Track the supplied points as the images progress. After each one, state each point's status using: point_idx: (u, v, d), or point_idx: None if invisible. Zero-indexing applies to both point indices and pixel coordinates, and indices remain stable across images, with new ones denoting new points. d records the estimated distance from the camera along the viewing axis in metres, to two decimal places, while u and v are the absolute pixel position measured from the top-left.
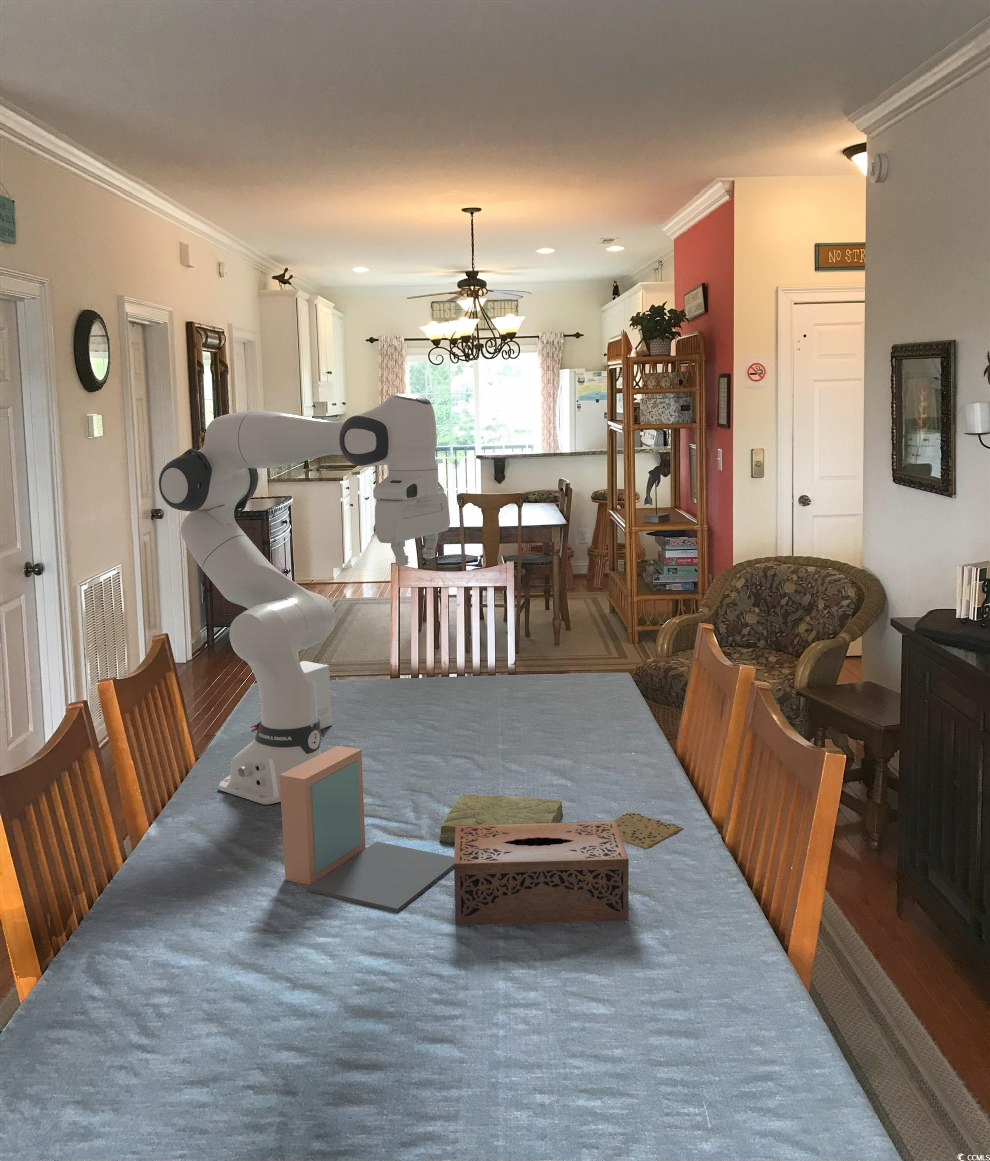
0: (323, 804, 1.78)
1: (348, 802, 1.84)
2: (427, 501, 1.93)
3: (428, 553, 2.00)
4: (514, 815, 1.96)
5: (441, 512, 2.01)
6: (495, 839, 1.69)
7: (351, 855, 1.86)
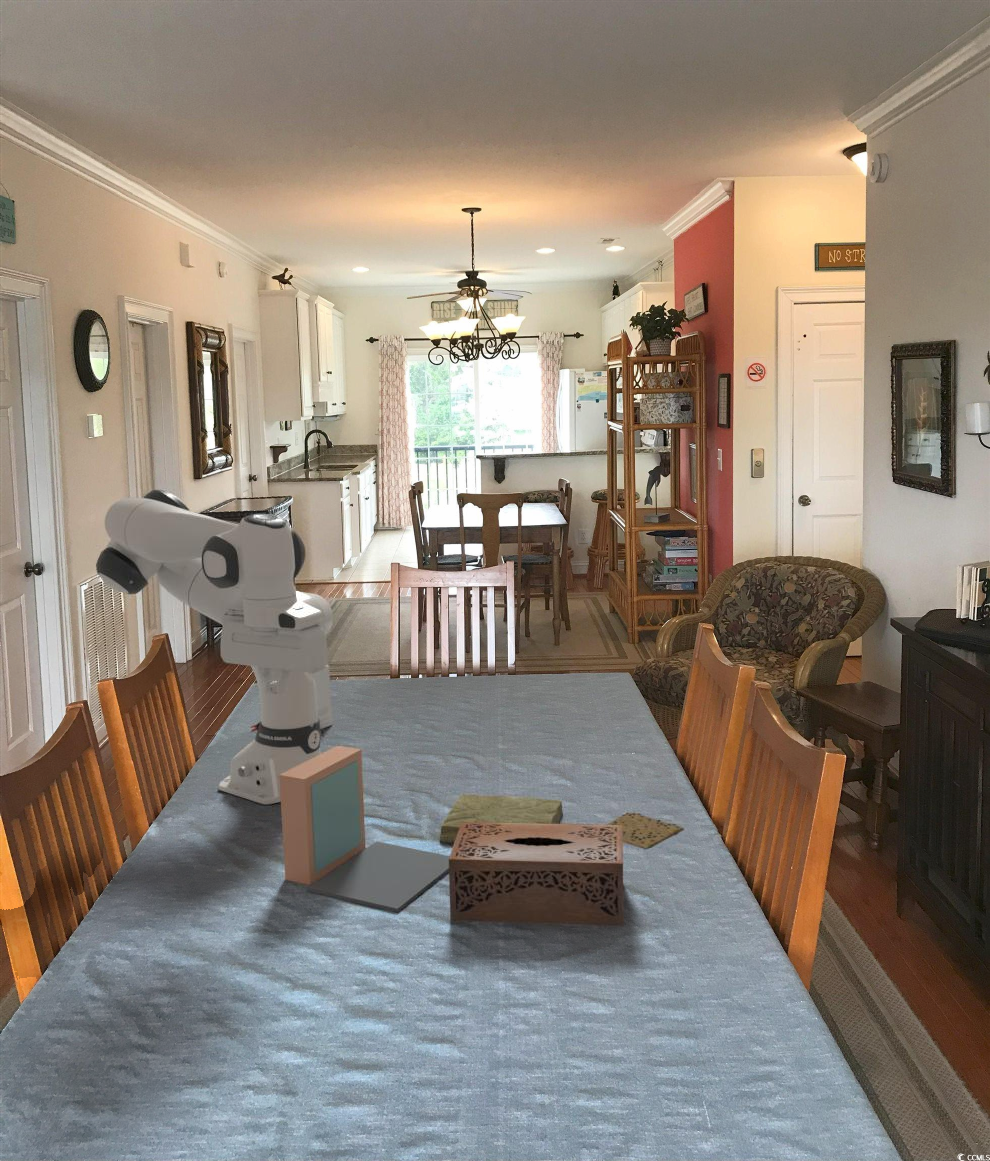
0: (323, 804, 1.78)
1: (348, 802, 1.84)
2: None
3: None
4: (514, 815, 1.96)
5: None
6: (496, 837, 1.69)
7: (351, 855, 1.86)
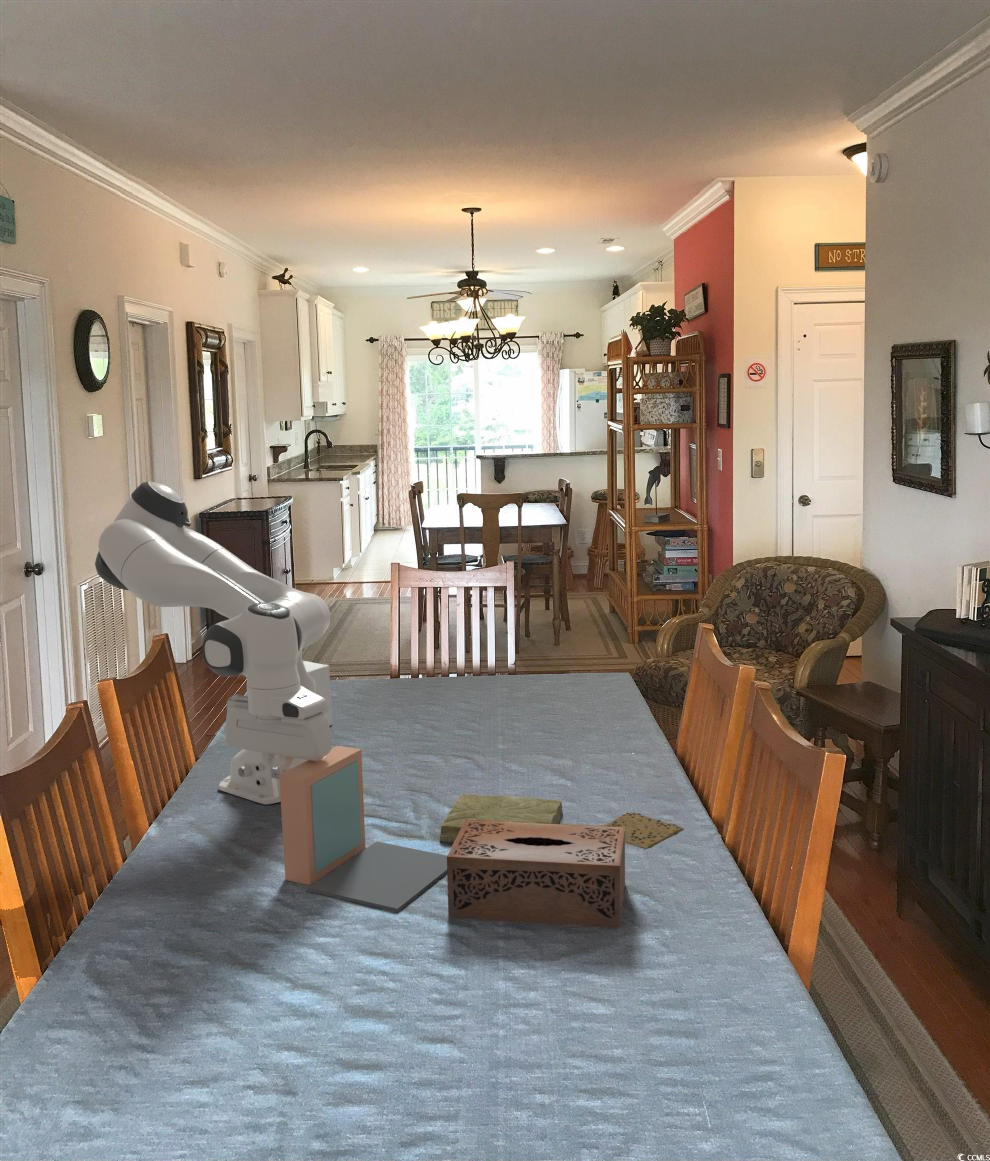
0: (323, 804, 1.78)
1: (348, 802, 1.84)
2: None
3: None
4: (514, 815, 1.96)
5: None
6: (497, 835, 1.70)
7: (351, 855, 1.86)
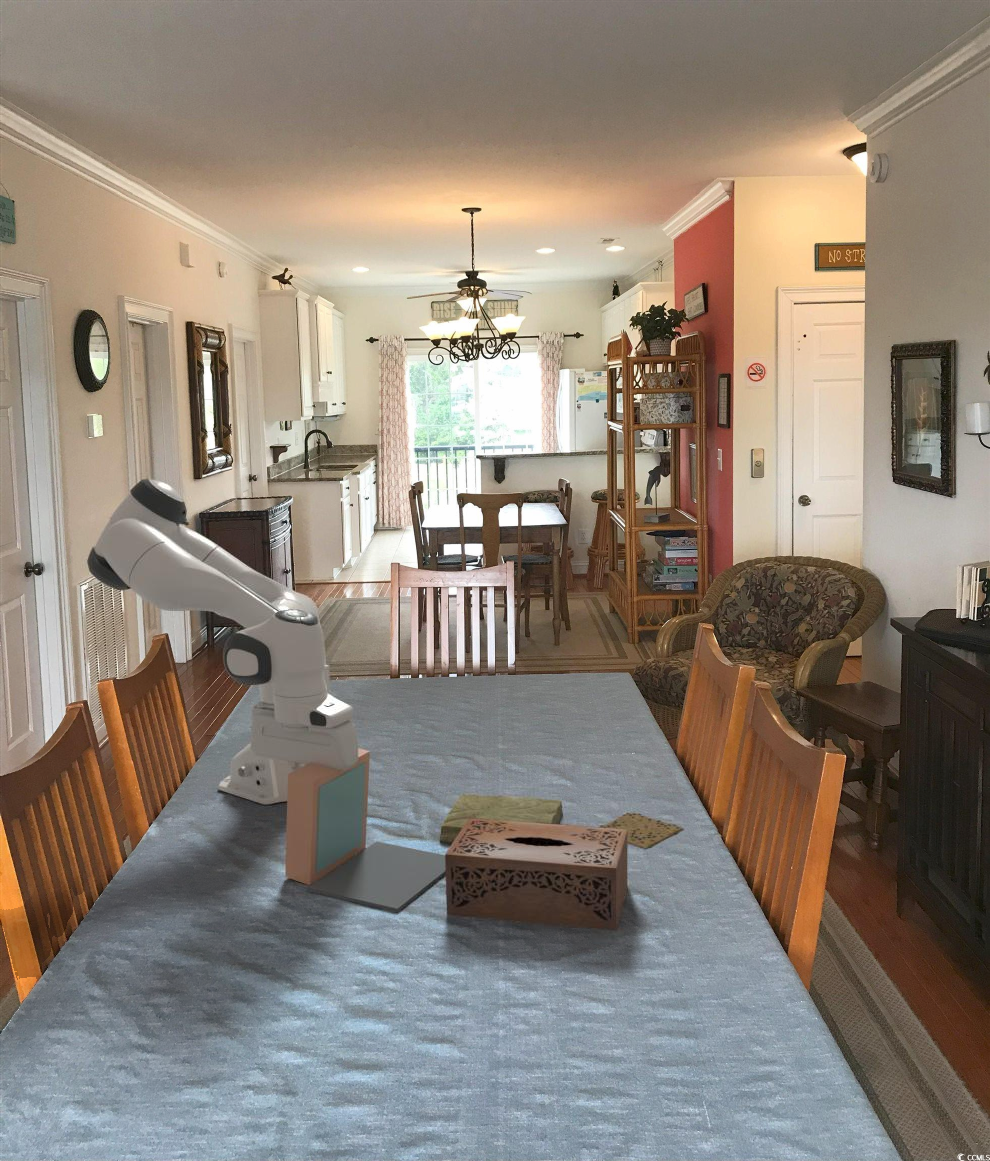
0: (329, 806, 1.77)
1: (353, 803, 1.84)
2: None
3: None
4: (514, 815, 1.96)
5: None
6: (498, 834, 1.70)
7: (351, 855, 1.86)
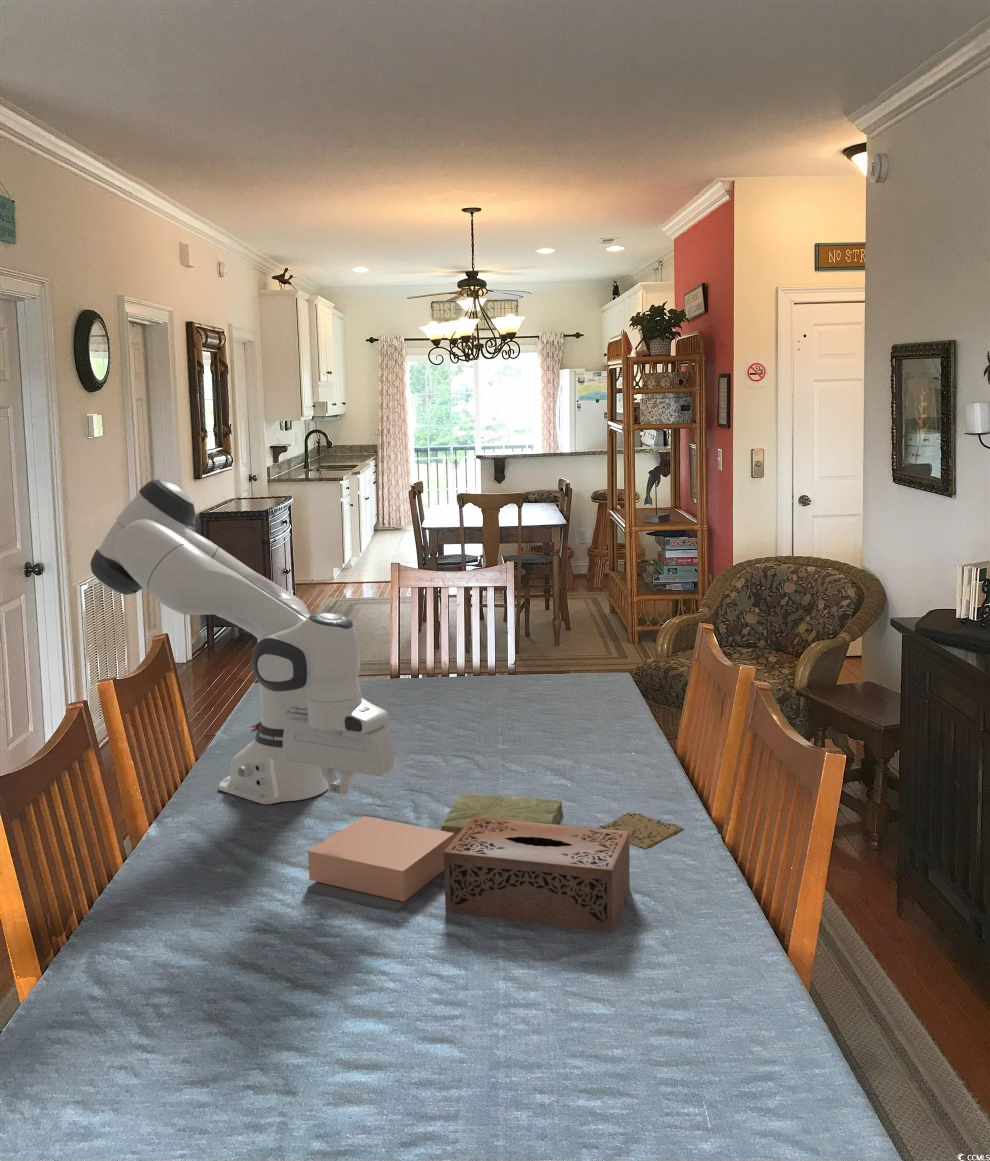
0: None
1: None
2: None
3: None
4: (514, 815, 1.96)
5: None
6: (499, 834, 1.71)
7: None
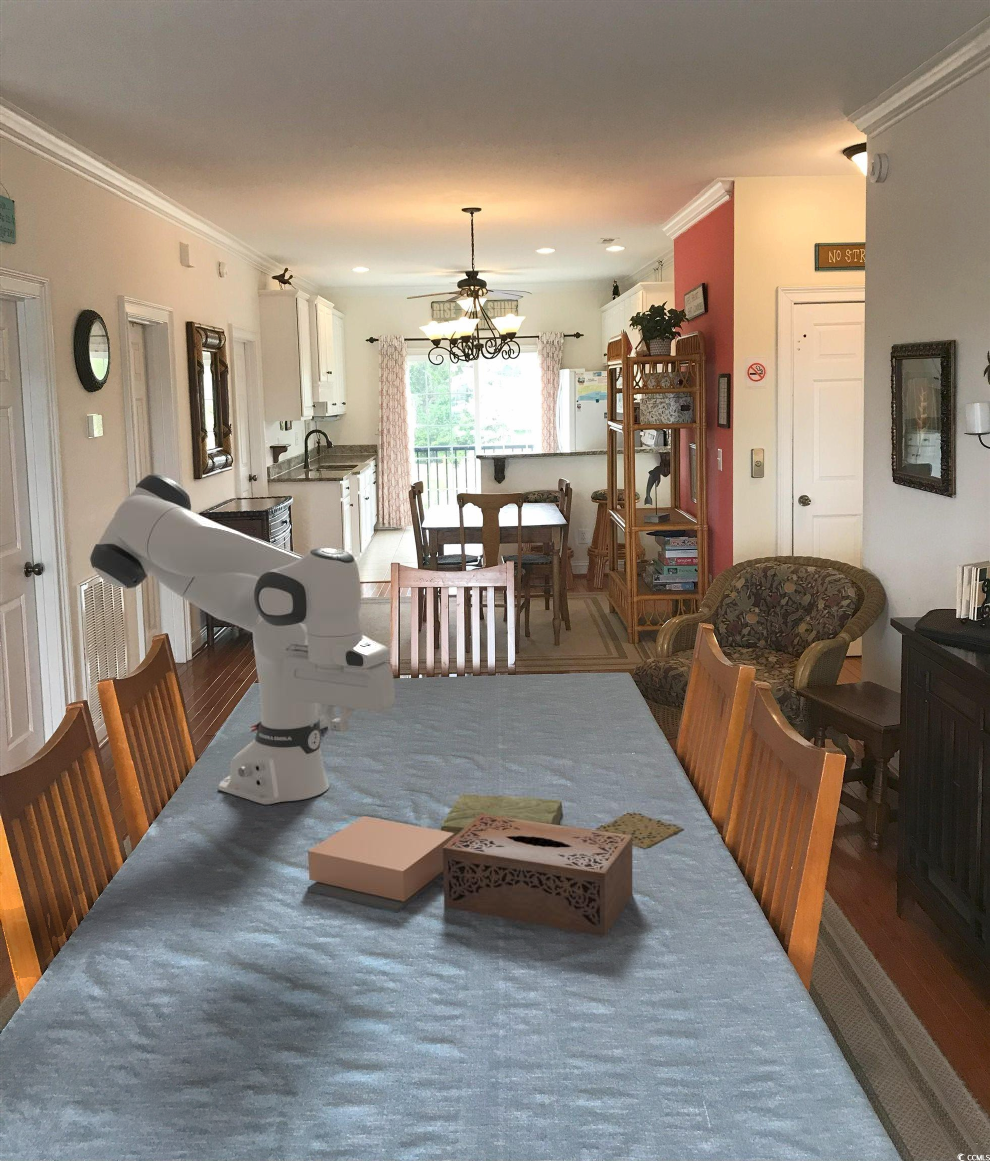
0: None
1: None
2: None
3: None
4: (514, 815, 1.96)
5: None
6: (502, 832, 1.71)
7: None
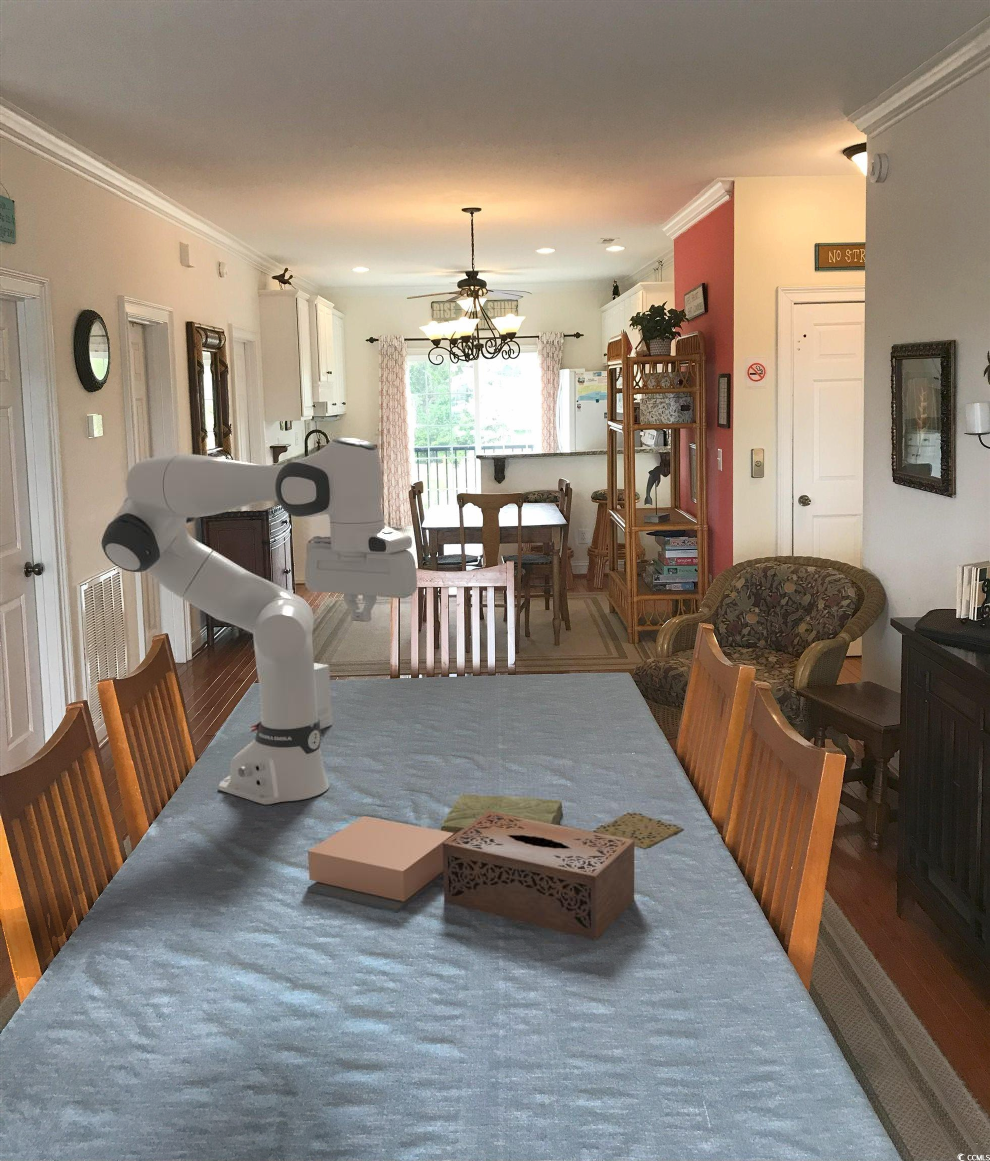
0: None
1: None
2: None
3: None
4: (514, 815, 1.96)
5: None
6: (505, 830, 1.72)
7: None
